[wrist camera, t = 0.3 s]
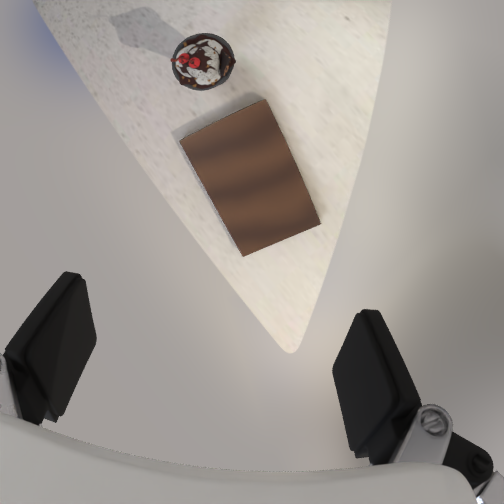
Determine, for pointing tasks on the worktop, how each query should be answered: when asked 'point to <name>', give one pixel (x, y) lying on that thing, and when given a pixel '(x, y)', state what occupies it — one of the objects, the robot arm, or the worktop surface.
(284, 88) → the worktop surface
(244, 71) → the worktop surface
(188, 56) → the sundae
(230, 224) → the serving board
